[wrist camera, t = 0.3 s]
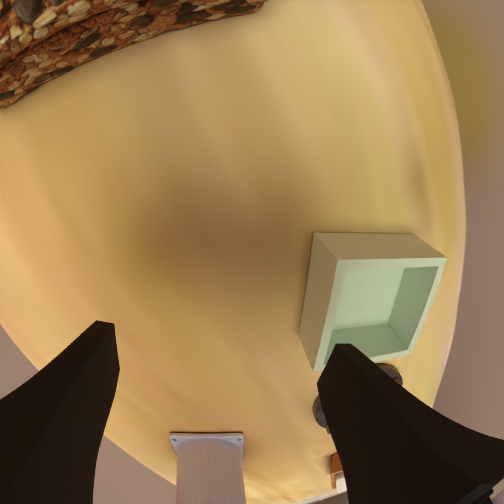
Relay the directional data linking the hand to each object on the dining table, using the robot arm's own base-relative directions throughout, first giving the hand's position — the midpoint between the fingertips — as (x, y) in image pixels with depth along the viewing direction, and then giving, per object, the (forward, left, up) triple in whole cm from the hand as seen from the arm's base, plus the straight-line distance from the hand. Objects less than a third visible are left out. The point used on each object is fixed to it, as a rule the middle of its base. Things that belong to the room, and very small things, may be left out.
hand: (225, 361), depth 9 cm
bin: (-3, -10, -10) cm, 15 cm away
